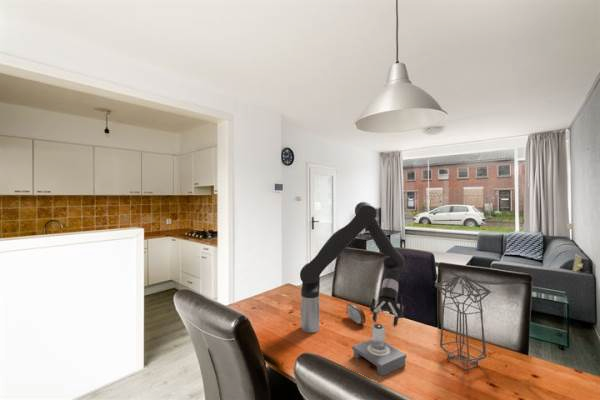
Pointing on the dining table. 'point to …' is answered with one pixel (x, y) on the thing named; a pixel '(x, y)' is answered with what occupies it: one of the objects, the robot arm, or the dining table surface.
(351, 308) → the tin
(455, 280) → the geometric lantern
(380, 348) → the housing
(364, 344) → the stand
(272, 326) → the dining table surface
